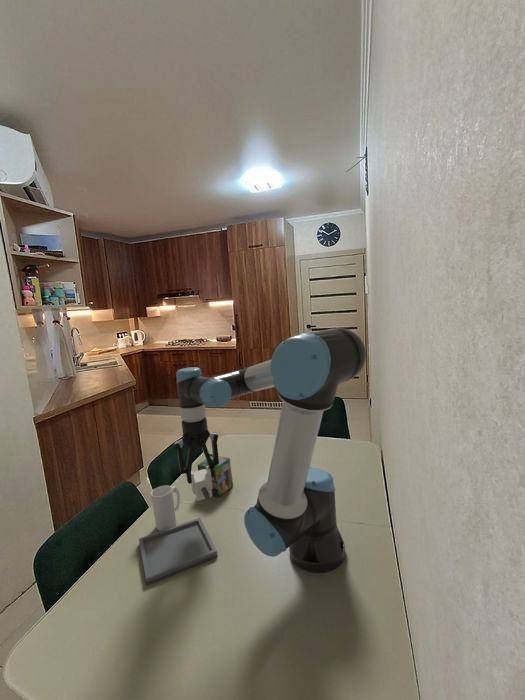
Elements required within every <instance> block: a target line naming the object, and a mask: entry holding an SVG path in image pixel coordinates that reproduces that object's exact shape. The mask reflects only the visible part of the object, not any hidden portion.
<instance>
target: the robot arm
mask: <svg viewBox="0 0 525 700" xmlns="http://www.w3.org/2000/svg"><path fill="white" fill-rule="evenodd" d="M366 350H367V349H366V347H365V344H364V341H363V340H362V339H361V337H360V336H359V335H358V334H357V333H356V332H353V331H352V330H350V329H348V328H345V327H332V328H329V329H324V330H319V331H315V332H304V333H303V332H302V333H299V334H298V333H297V334H296V335H294V336H292V337H288V338H287V339H284V340H283V341H282V342H280V343H279V344H278V346H277V347H276V348H275V350H274V352H273V354H272V355H271V359H269V360H266V361H263V362H259V363H258V364H257V363H256V364H254V365H252V366H248V367H245V368H242V369H238V370H235V371H234V370H233V371H230V372H227V373H224V374H220V375H219V374H218V375H214V376H212V377H211V376H210V377H206V376H205V377H204V376H203V374H202V373H203V372H202V369H200V368H199V367H195V366H193V367H192V366H191V367H183V368H181V369H178V370H177V371H176V375H175V376H176V377H175V378H176V389H177V397H178V402H179V410H180V419H181V429H182V436H181V439H179V440H175V441H174V443H173V444H174V447H175V449H176V453H177V461H178V466H179V467H178V468H179V472H180V474H181V475H184V474H185V475H186V481H187V484H190V485H191V492H192V494H193V495H195V494H196V489H195V481H194V473H193V472H194V471H193V470H192V467H193V460H194V452H195V450H196V449H198V448H201V449H202V451H203V454H204V456H205V459H206V460H207V463H208V465H209V466H206V470H207V474H208V476H209V477H210V479H211V478H212V477H214V466H215V465H218V464H219V458H218V456H219V450H218V439H219V435H218V434H217V433H216V431H214V432H210V431H209V429H208V421H207V420H208V419H207V417H206V416H207V411H206V406H208V407H214V408H221V407H225V406H226V405H227V403H229V401H230V400H231V399H232V400H233V399H234V398H237V397H240V396H243V395H247V394H252V393H255V392H259V391H262V390H266V389H272V388H275V389H276V390H277V395H278V396H277V397H279V399H280V400H281V401H282V403H281V404H282V405H281V410H280V415H279V420H278V426H277V431H276V436H275V440H274V445H273V451H272V456H271V462H270V467H269V473H268V477H267V481H265V482H264V483H263V484H262V485H261V486H260V488H259V491H258V494H257V499H256V503H255V504H254V505H253V506H250V507H249V509H248V510H247V511H246V512H245V513H244V517H243V520H244V521H243V523H244V527H245V530H246V532H247V534H248V536H249V538H250V540H251V542H252V543H253V545H254V546H255V547H256V548H257V549H258V551H260V552H261V553H262V554H264V555H266V556H267V557H272V558H274V557H277V556H279V555H280V554H282V553H283V552H286V550H287V549H289V556H290V559H291V561H292V562H293V563H294V564H295V566H297V567H298V568H300V569H302V570H303V571H304V570H305V571H307V572H311V573H326V572H331V571H332V570H335V569H336V568H338V567H339V566H340V565H342V563H344V559H345V558H346V545H345V542H344V539H343V537H342V534H341V532H340V530H339V527H338V525H337V524H338V523H337V510H336V509H337V508H336V493H335V490H336V488H335V482H334V481H335V480H334V478H333V476H332V474H331V473H329V472H328V471H326V470H324V469H321V468H318V467H310V466H311V463H312V459H313V455H314V451H315V446H316V443H317V439H318V434H319V431H320V427H321V422H322V419H323V414H324V411H327V410H330V409H331V408H332V407H333V405H334V402H335V399H336V395H337V391H338V387H339V385H340V384H343V383H345V382H347V381H350V380H352V379H353V378H355V377H357V375H359V374H360V372H362V370H363V368H364V366H365V364H366V360H367V351H366ZM209 439H210V440H211V441H210V442H211V449H212V450H211V451H212V454H213V461H212V460H211V456H210V455H209V454H210V453H209V449H208V447H207V444H206V443H207V441H208V440H209ZM184 444H185V445H186V446H187V454H186V455H187V456H186V461H185V462H186V463H184V455H183V450H182V448H183V446H184ZM211 488H212V489H213V487H212V479H211Z"/></svg>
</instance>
